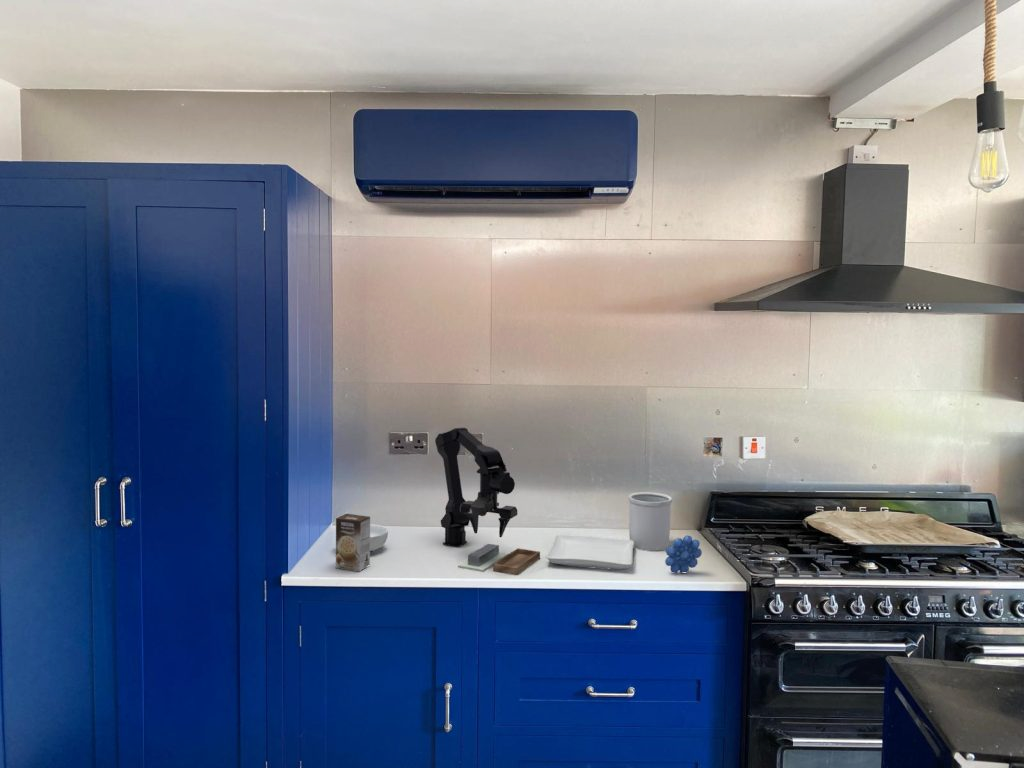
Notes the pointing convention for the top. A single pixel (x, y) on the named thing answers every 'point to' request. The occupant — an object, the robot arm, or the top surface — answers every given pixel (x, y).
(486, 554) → the gunmetal bar
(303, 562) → the top surface
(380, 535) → the cereal bowl
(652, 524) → the utensil holder
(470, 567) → the sage mat
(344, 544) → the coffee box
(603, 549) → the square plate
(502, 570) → the walnut slot tray
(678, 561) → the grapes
